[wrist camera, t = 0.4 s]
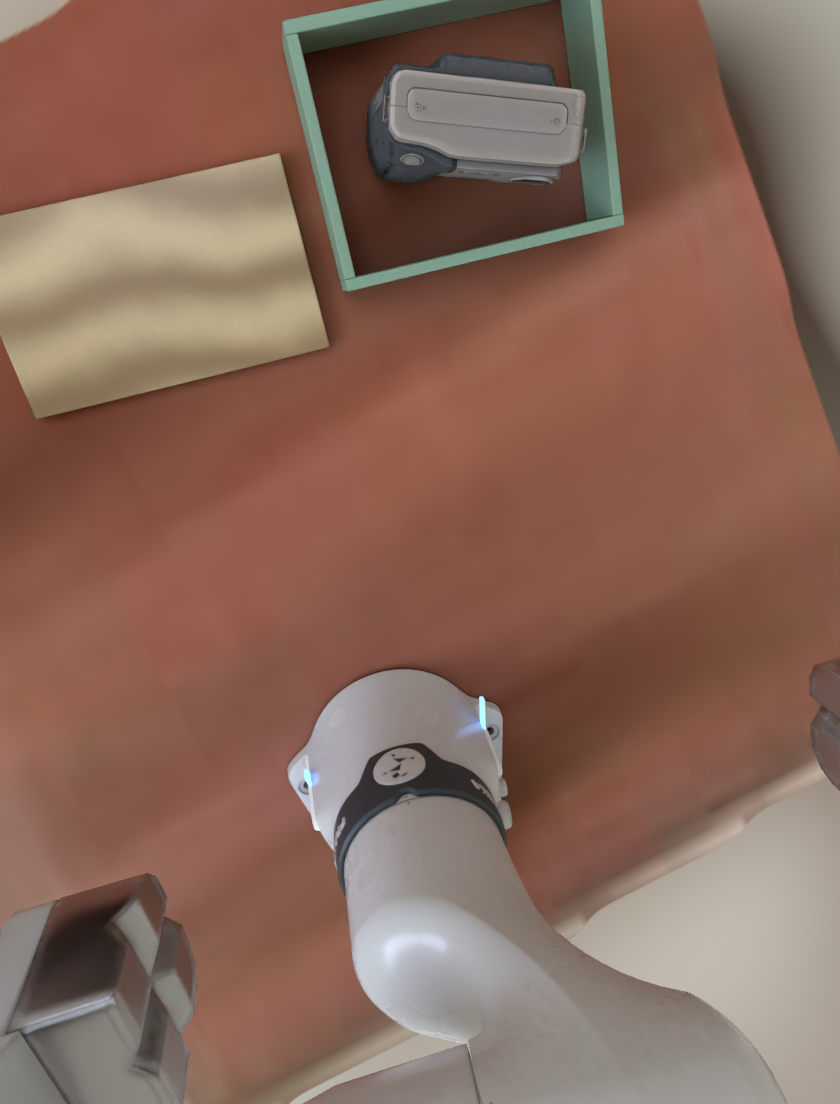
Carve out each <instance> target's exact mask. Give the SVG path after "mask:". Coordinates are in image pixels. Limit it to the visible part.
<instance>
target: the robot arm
mask: <svg viewBox="0 0 840 1104" xmlns="http://www.w3.org/2000/svg"><path fill="white" fill-rule="evenodd" d="M809 685H810V695H811V696H812V697H813V698H814V699H815V700H816V701H817V702H818V703H819V704H820V705H822V706H821V707H820V709H819V711H818V712H817V714H816V716H815V717H814V719H813V721H812V723H811V724H810V725H811V738H812V747H813V750H814V752H815V755H816V757H817V759H818V762H819V764H820V767H821V769H822V770H823V771H824V773H825V774H826V776H827V777H828V778H829V780H830V781H831V782H832V784H833V785H834V786H835V787H837V789H838V790H840V657H839V658H836V659H833V660H830V661H827V662H823V663H820V664H817V665H814V667H813V670H812V672H811V674H810V677H809ZM488 727H492V728H491V729H490V730H489V731H488V730H487V728H488ZM502 736H503V718H502V714H501V711H500V708H499V707H498V706H497V705H496V704H494V703H492V702H489V701H486V700H484V698H483V696H482V697H479V699H478V698H473V697H470V696H468V695H466V694H465V693H463V692H462V691H461V690H459V689H458V688H457V687H456V686H454V685H453V684H452V683H450V682H449V681H447V680H445V679H444V678H441V677H439V676H437V675H434V674H432V673H428V672H424V671H420V670H411V669H396V670H388V671H382V672H378V673H375V674H372V675H369V676H366V677H364V678H362V679H359V680H357V681H356V682H354V683H352V684H350V685H349V686H347V687H346V688H344V689H343V690H342V691H341V692H339V693H338V694H337V695H336V696H335V697H334V698H333V699H332V700H331V701H330V702H329V703H328V704H327V706H326V707H325V708H324V710H323V711H322V713H321V715H320V716H319V718H318V720H317V722H316V725H315V727H314V730H313V733H312V735H311V738H310V740H309V742H308V743H307V745H306V746H305V747H304V748H303V749H302V750H301V751H300V752H299V753H298V754H297V755H296V756H295V757H294V758H293V760H292V761H291V762H290V764H289V766H288V769H287V772H288V777H289V781H290V783H291V784H292V786H293V788H294V789H295V791H296V792H297V794H298V795H299V797H300V798H301V800H302V801H303V803H304V804H305V806H306V808H307V809H308V811H309V812H310V814H311V815H312V822H313V826H314V828H315V830H318V831H321V833H322V835H323V837H324V839H325V840H326V842H327V843H328V844H329V846H330V847H331V848H332V850H333V851H334V861H335V867H336V871H338V877H339V882H340V886H341V888H342V890H343V892H344V894H345V896H346V899H347V909H348V918H349V928H350V938H351V947H352V957H353V965H354V969H355V972H356V975H357V977H358V980H359V982H360V984H361V986H362V988H363V990H364V991H365V993H366V994H367V996H368V997H369V998H370V1000H371V1001H372V1002H373V1003H374V1004H375V1005H376V1006H377V1007H378V1008H379V1009H380V1010H381V1011H383V1012H384V1013H385V1014H386V1015H387V1016H389V1017H390V1018H391V1019H393V1020H394V1021H396V1022H397V1023H398V1024H400V1025H401V1026H403V1027H405V1028H406V1029H408V1030H410V1031H413V1032H415V1033H419V1034H422V1035H425V1036H429V1037H434V1038H438V1039H442V1040H447V1041H451V1042H455V1043H458V1044H461V1045H459V1046H456V1047H453V1048H450V1049H447V1050H444V1051H441V1052H438V1053H434V1054H431V1055H428V1056H425V1057H422V1058H419V1059H416V1060H413V1061H409V1062H406V1063H403V1064H400V1065H397V1066H394V1067H391V1068H388V1069H385V1070H381V1071H378V1072H376V1073H372V1074H369V1075H366V1076H363V1077H360V1078H357V1079H353V1080H350V1081H347V1082H344V1083H341V1084H338V1085H335V1086H333V1087H332V1088H330V1089H328V1090H326V1091H325V1092H323V1093H321V1094H319V1095H318V1096H316V1097H314V1098H312V1099H310V1100H309V1101H307V1102H305V1103H303V1104H787V1102H786V1099H785V1097H784V1095H783V1093H782V1091H781V1089H780V1087H779V1084H778V1083H777V1081H776V1079H775V1077H774V1075H773V1073H772V1072H771V1070H770V1069H769V1067H768V1065H767V1064H766V1062H765V1060H764V1059H763V1058H762V1056H761V1055H760V1054H759V1052H758V1051H757V1050H756V1048H755V1047H754V1046H753V1044H752V1043H751V1042H750V1041H749V1039H748V1038H747V1037H746V1036H745V1035H744V1034H743V1033H742V1032H741V1031H740V1030H739V1029H738V1028H737V1027H736V1026H735V1025H734V1024H733V1023H732V1022H731V1021H730V1020H729V1019H728V1018H726V1017H725V1016H724V1015H723V1014H722V1013H721V1012H719V1011H718V1010H716V1009H715V1008H714V1007H712V1006H711V1005H709V1004H708V1003H706V1002H705V1001H703V1000H702V999H700V998H698V997H696V996H694V995H692V994H691V993H688V992H685V991H680V990H675V989H671V988H666V987H661V986H658V985H655V984H651V983H648V982H645V981H642V980H639V979H636V978H634V977H631V976H629V975H626V974H624V973H621V972H619V971H617V970H615V969H613V968H611V967H609V966H607V965H605V964H603V963H601V962H600V961H598V960H596V959H594V958H593V957H591V956H589V955H588V954H586V953H584V952H583V951H582V950H580V949H579V948H577V947H576V946H574V945H573V944H571V943H570V942H569V941H568V940H567V939H565V938H564V937H563V936H562V935H560V934H559V933H558V932H557V931H556V930H555V929H554V928H553V927H552V926H550V925H549V924H548V923H547V921H546V920H545V919H544V918H543V917H542V916H541V914H540V913H539V912H538V910H537V909H536V907H535V906H534V904H533V902H532V901H531V899H530V897H529V895H528V893H527V891H526V889H525V888H524V886H523V884H522V882H521V879H520V877H519V875H518V873H517V871H516V869H515V867H514V865H513V863H512V860H511V858H510V856H509V854H508V851H507V845H508V844H507V835H506V831H505V829H510V828H511V827H512V816H511V811H510V807H509V804H508V802H507V801H505V800H501V797H504V796H507V794H508V791H507V785H506V781H505V779H502ZM305 782H307V784H306V783H305ZM166 903H167V895H166V893H165V891H164V889H163V888H162V886H161V884H160V882H159V880H158V879H157V877H156V876H155V875H151V874H148V873H146V874H143V875H139V876H136V877H132V878H129V879H125V880H122V881H118V882H115V883H111V884H108V885H104V886H101V887H97V888H94V889H90V890H87V891H83V892H80V893H76V894H73V895H69V896H66V897H62V898H61V899H60V900H55V901H51V902H48V903H44V904H41V905H37V906H34V907H31V908H27V909H24V910H20V911H17V912H16V913H15V914H14V915H12V916H11V917H10V918H9V919H8V920H7V921H6V922H5V924H4V926H3V928H2V931H1V933H0V1104H183V1101H184V1093H185V1085H186V1077H187V1069H188V1061H189V1051H188V1049H187V1047H186V1045H185V1043H184V1041H183V1039H182V1037H181V1035H180V1033H181V1032H182V1030H183V1029H184V1027H185V1026H186V1024H187V1023H188V1021H189V1020H190V1018H191V1017H192V1015H193V1014H194V1011H195V1001H196V991H197V985H196V973H195V961H194V957H193V953H192V950H191V946H190V943H189V940H188V937H187V935H186V933H185V931H184V929H183V927H182V925H181V924H179V923H177V922H175V921H173V920H171V919H169V918H167V917H165V916H164V914H165V908H166ZM468 1048H470V1052H471V1057H472V1060H471V1057H470V1053H469V1050H468ZM472 1061H473V1063H472ZM473 1066H474V1067H473ZM474 1070H475V1071H474Z"/></svg>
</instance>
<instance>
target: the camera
mask: <svg viewBox="0 0 840 1104" xmlns="http://www.w3.org/2000/svg"><path fill="white" fill-rule="evenodd" d="M553 71H554V70H553V68H552V67H551V66H550V65H548V64H539V63H532V62H524V61H514V60H505V59H497V58H489V57H481V56H471V55H463V54H455V53H444V54H442V55H441V56H440V57H439V58H438V60H437V61H436V62H435V63H434V64H433V65H431V66H414V65H402V64H396V65H393V67H392V68H391V70H390V72H389V74H388V73H387V76H386V77H384V80H383V82H382V84H381V86H380V87H379V89H378V90H377V92H376V94H375V96H374V97H373V99H372V100H371V102H370V104H369V105H368V116H367V136H366V143H367V149H368V154H369V159H370V161H371V164H372V167H373V169H374V172H375V174H376V176H377V177H379V178H380V179H382V180H386V181H397V182H408V183H420V182H424V181H429V180H430V179H432V178H434V177H435V176H443V177H450V178H461V179H472V180H483V181H494V182H505V183H510V182H516V183H524V184H538V185H541V184H552V183H553V182H554V180H559V179H560V178H561V173H562V168H563V166H565V165H567V164H570V163H574V162H576V161H577V160H578V158H579V155H582V154H583V153H584V147H585V140H586V134H587V129H586V128H583V121H584V114H585V106H586V95H585V93H584V91H583V90H579V89H571V88H564V87H558V85H557V84H556V82H555V77H554V75H553ZM582 135H583V143H582V148H581V139H582ZM580 149H581V150H580Z"/></svg>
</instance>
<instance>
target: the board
mask: <svg viewBox="0 0 840 1104" xmlns="http://www.w3.org/2000/svg"><path fill="white" fill-rule="evenodd" d="M0 336H1V338H2V340H3V343H4V345H5V348H6V350H7V352H8V355H9V357H10V359H11V362H12V364H13V366H14V369H15V371H16V374H17V376H18V378H19V381H20V383H21V385H22V388H23V390H24V392H25V395H26V397H27V400H28V402H29V404H30V407H31V409H32V411H33V414H34V416H35V418H36V419H41V418H45V417H49V416H53V415H57V414H61V413H65V412H69V411H73V410H77V409H81V408H85V407H89V406H93V405H97V404H102V403H106V402H110V401H114V400H118V399H122V398H126V397H130V396H134V395H138V394H142V393H146V392H150V391H154V390H158V389H162V388H166V387H171V386H175V385H179V384H183V383H187V382H191V381H195V380H199V379H203V378H207V377H211V376H215V375H219V374H223V373H227V372H231V371H235V370H240V369H244V368H248V367H252V366H256V365H260V364H264V363H268V362H272V361H276V360H280V359H284V358H288V357H292V356H296V355H300V354H304V353H309V352H313V351H317V350H321V349H325V348H329V347H330V345H329V341H328V337H327V333H326V330H325V326H324V322H323V318H322V314H321V310H320V306H319V302H318V299H317V295H316V291H315V287H314V283H313V279H312V275H311V271H310V268H309V264H308V260H307V256H306V252H305V248H304V244H303V241H302V237H301V233H300V229H299V225H298V221H297V217H296V213H295V210H294V206H293V202H292V198H291V194H290V190H289V186H288V182H287V179H286V175H285V171H284V167H283V163H282V159H281V155H280V153H277V154H273V155H268V156H264V157H259V158H255V159H250V160H246V161H241V162H237V163H232V164H228V165H223V166H219V167H214V168H210V169H205V170H201V171H196V172H192V173H187V174H183V175H178V176H174V177H169V178H165V179H160V180H156V181H151V182H147V183H142V184H138V185H133V186H129V187H124V188H120V189H115V190H111V191H106V192H102V193H97V194H93V195H88V196H84V197H80V198H75V199H71V200H66V201H62V202H57V203H53V204H48V205H44V206H39V207H35V208H30V209H26V210H21V211H17V212H12V213H8V214H3V215H0Z"/></svg>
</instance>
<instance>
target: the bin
mask: <svg viewBox="0 0 840 1104" xmlns="http://www.w3.org/2000/svg"><path fill="white" fill-rule="evenodd" d="M551 1H556V0H381V1H376V2H371V3H366V4H361V5H356V6H352V7H347V8H342V9H337V10H332V11H328V12H323V13H318V14H313V15H308V16H303V17H299V18H294V19H289V20H284V21H283V22H282V46H283V50H284V54H285V57H286V63H287V67H288V71H289V75H290V79H291V83H292V87H293V91H294V95H295V99H296V103H297V107H298V112H299V116H300V120H301V124H302V128H303V132H304V136H305V140H306V144H307V148H308V152H309V156H310V160H311V165H312V169H313V173H314V177H315V181H316V185H317V189H318V193H319V197H320V201H321V205H322V209H323V214H324V218H325V222H326V226H327V230H328V234H329V238H330V242H331V246H332V250H333V254H334V258H335V262H336V267H337V271H338V275H339V279H340V283H341V287H342V290H343V291H353V290H357V289H361V288H365V287H369V286H374V285H378V284H382V283H386V282H390V281H394V280H399V279H403V278H407V277H411V276H415V275H419V274H424V273H428V272H432V271H436V270H440V269H444V268H449V267H453V266H457V265H461V264H465V263H469V262H473V261H478V260H482V259H486V258H490V257H494V256H498V255H503V254H507V253H511V252H515V251H519V250H523V249H528V248H532V247H536V246H540V245H544V244H548V243H553V242H557V241H561V240H565V239H569V238H573V237H577V236H582V235H586V234H590V233H594V232H598V231H602V230H607V229H611V228H615V227H619V226H623V225H624V216H623V214H622V213H623V207H622V198H621V188H620V178H619V168H618V159H617V149H616V139H615V129H614V120H613V110H612V100H611V90H610V81H609V71H608V61H607V52H606V42H605V32H604V22H603V13H602V3H601V0H561V9H562V18H563V26H564V34H565V43H566V51H567V59H568V68H569V76H570V84H571V89H579V90H583V91H584V93H585V95H586V106H585V114H584V121H583V128H586V129H587V134H586V140H585V147H584V153H583V154H582V155H579V159H580V167H581V176H582V184H583V192H584V201H585V209H586V217H587V221H585V222H581V223H577V224H573V225H569V226H564V227H560V228H556V229H552V230H548V231H543V232H539V233H535V234H531V235H527V236H523V237H518V238H514V239H510V240H506V241H502V242H497V243H493V244H489V245H485V246H481V247H476V248H472V249H468V250H464V251H460V252H456V253H451V254H447V255H443V256H439V257H435V258H430V259H426V260H422V261H418V262H414V263H410V264H405V265H401V266H397V267H393V268H389V269H384V270H380V271H376V272H372V273H368V274H363V275H359V276H355V272H354V268H353V264H352V260H351V255H350V251H349V247H348V243H347V238H346V234H345V230H344V226H343V222H342V217H341V213H340V209H339V205H338V200H337V196H336V192H335V188H334V184H333V179H332V175H331V171H330V167H329V163H328V158H327V154H326V150H325V146H324V141H323V137H322V133H321V129H320V125H319V120H318V116H317V112H316V108H315V103H314V99H313V95H312V91H311V87H310V82H309V78H308V74H307V70H306V65H305V61H304V57H303V54H306V53H310V52H315V51H320V50H324V49H329V48H334V47H339V46H343V45H348V44H353V43H357V42H362V41H367V40H372V39H376V38H381V37H386V36H391V35H395V34H400V33H405V32H409V31H414V30H419V29H424V28H428V27H433V26H438V25H442V24H447V23H452V22H457V21H461V20H466V19H471V18H476V17H480V16H485V15H490V14H494V13H499V12H504V11H509V10H513V9H518V8H523V7H527V6H532V5H537V4H542V3H546V2H551ZM582 143H583V135H582V139H581V148H582ZM580 150H581V149H580Z"/></svg>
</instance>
